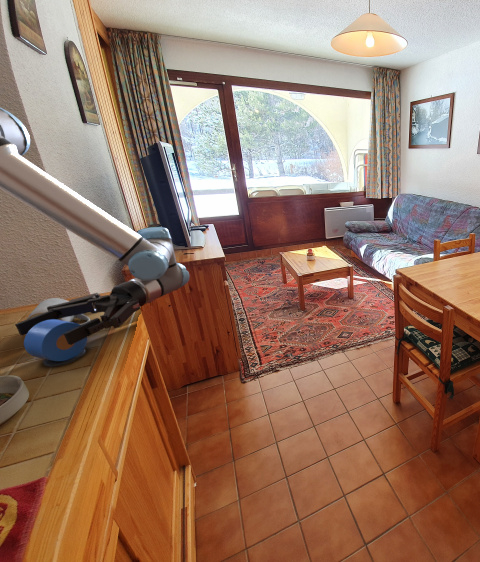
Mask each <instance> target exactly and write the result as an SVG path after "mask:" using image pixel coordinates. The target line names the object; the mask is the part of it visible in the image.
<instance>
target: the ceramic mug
mask: <svg viewBox="0 0 480 562" xmlns="http://www.w3.org/2000/svg"><path fill="white" fill-rule="evenodd" d="M65 302H69V300H66V299H64V298H59V297H53V298H52V297H51V298H47V299H44V300H42V301H40V302H39V303H38V304H37V306H35V308H34V309H33V310H32V311H31V312H30V314H29V315H28V316H27V318H26V320H27V319H30V318H32V317H35V316H37V315H40V314H43V313H45V312H48V310H47V307H49V306H53V305H57V304H61V303H65ZM75 319H78V320H83V321H86V322H83V323H79V324H80V325H83V324H85V323H87V322H89V321H91V319H90V317H89V316H88V315H86V314H79V315H74V316H69V317H64V318H60V319H58V320H62V321H68V322H73V321H74V320H75Z"/></svg>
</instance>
